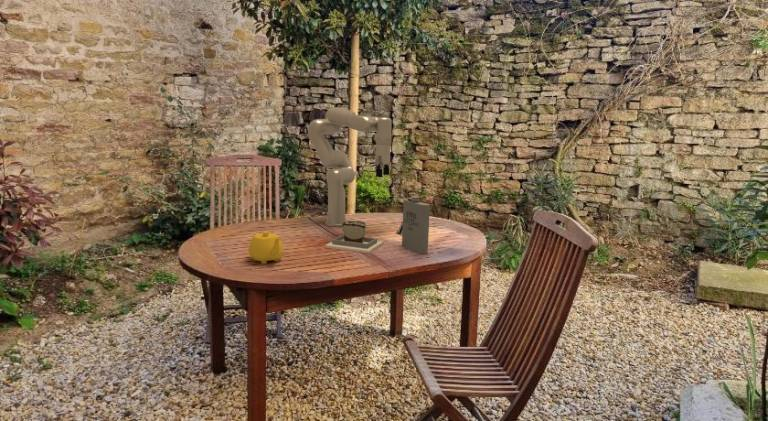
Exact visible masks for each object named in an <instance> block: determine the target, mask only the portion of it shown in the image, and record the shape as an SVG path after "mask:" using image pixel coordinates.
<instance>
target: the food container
mask: <svg viewBox="0 0 768 421" xmlns="http://www.w3.org/2000/svg"><path fill="white" fill-rule="evenodd" d="M341 227H342V233H343V234H342V235H344V241H349V242H357V243H363V242H364V237H365V233H366V232H365V231H366V229H367V224H366V222H364V221H361V220H345V221H344V222H343V223H342V226H341Z"/></svg>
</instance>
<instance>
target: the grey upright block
mask: <svg viewBox="0 0 768 421" xmlns="http://www.w3.org/2000/svg"><path fill="white" fill-rule="evenodd" d="M402 204H403V206H402V221H403V228H402V235H401V246H402V247H403V248H405V249H407V250H410V251H411V252H414V253H418V254H421V255H427V254H428V253H429V237H430V235H429V233H430V215H431V214H430V212H431V210H430V208H431V204H430V203H425V202H422V201H420V196H414V195H413V196H410V197H407V198H404V199H403V203H402Z"/></svg>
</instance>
